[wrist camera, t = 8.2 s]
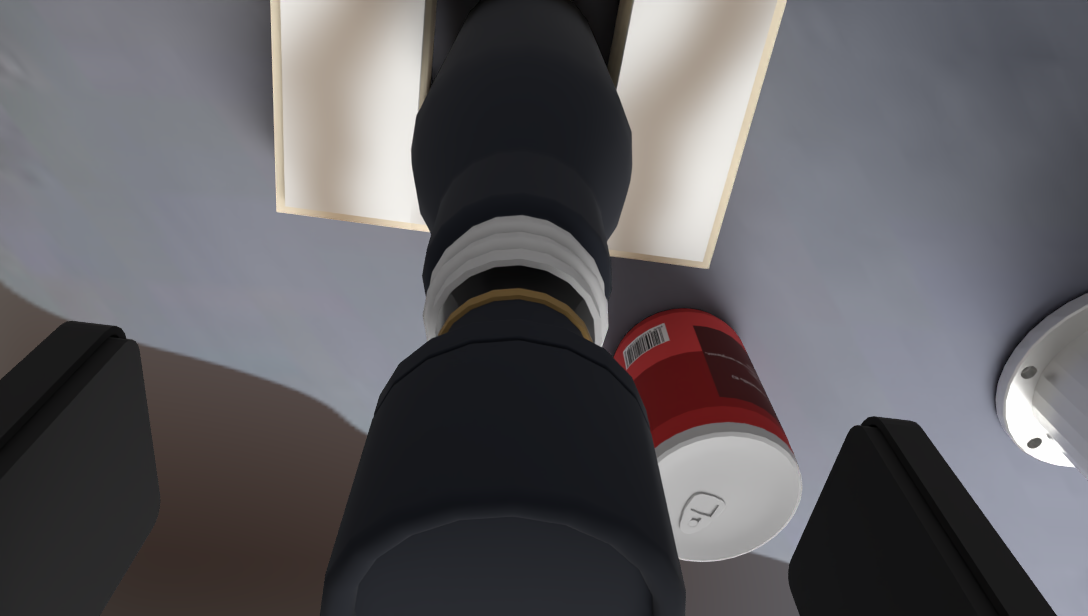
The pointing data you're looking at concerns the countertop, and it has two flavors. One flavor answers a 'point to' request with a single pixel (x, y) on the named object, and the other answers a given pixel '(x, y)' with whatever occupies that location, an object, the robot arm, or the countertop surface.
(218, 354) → the countertop surface
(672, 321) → the canned food
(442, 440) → the black water bottle
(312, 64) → the holder block
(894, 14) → the countertop surface
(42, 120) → the countertop surface
